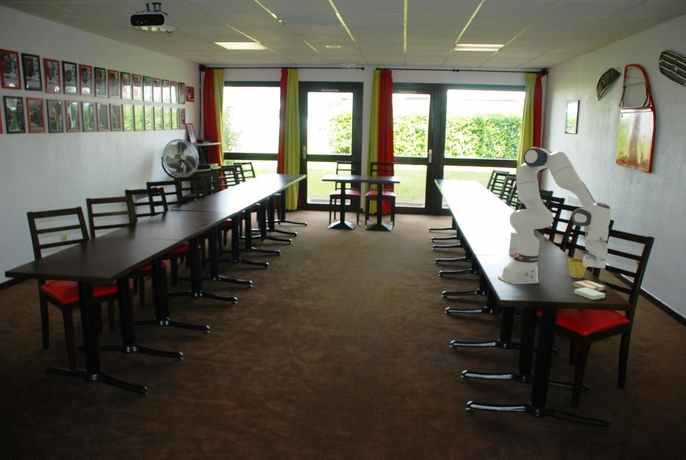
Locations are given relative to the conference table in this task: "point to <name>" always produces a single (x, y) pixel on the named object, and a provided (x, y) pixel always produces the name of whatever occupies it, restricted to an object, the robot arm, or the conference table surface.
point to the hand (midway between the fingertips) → (594, 262)
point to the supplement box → (513, 243)
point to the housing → (590, 259)
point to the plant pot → (576, 267)
